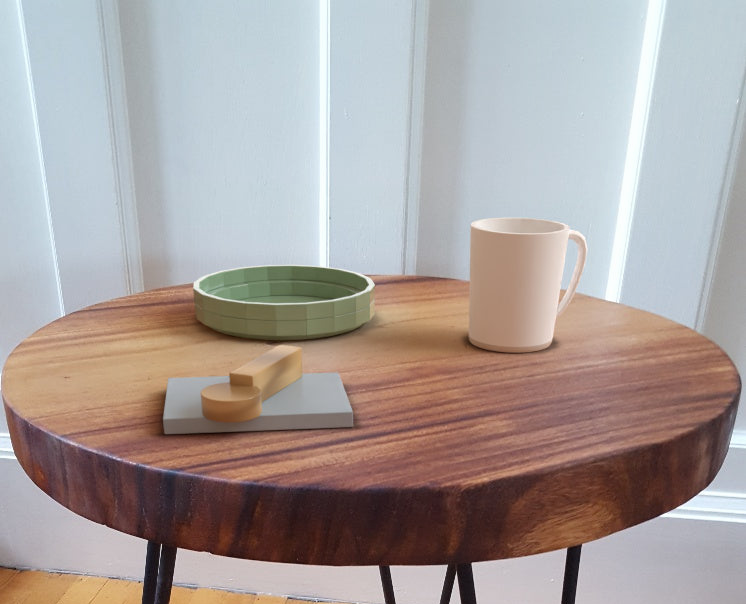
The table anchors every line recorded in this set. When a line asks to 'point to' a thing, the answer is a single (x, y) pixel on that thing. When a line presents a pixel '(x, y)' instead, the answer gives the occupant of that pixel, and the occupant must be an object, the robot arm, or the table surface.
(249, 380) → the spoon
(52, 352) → the table surface
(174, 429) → the board
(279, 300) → the pan
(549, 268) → the mug
